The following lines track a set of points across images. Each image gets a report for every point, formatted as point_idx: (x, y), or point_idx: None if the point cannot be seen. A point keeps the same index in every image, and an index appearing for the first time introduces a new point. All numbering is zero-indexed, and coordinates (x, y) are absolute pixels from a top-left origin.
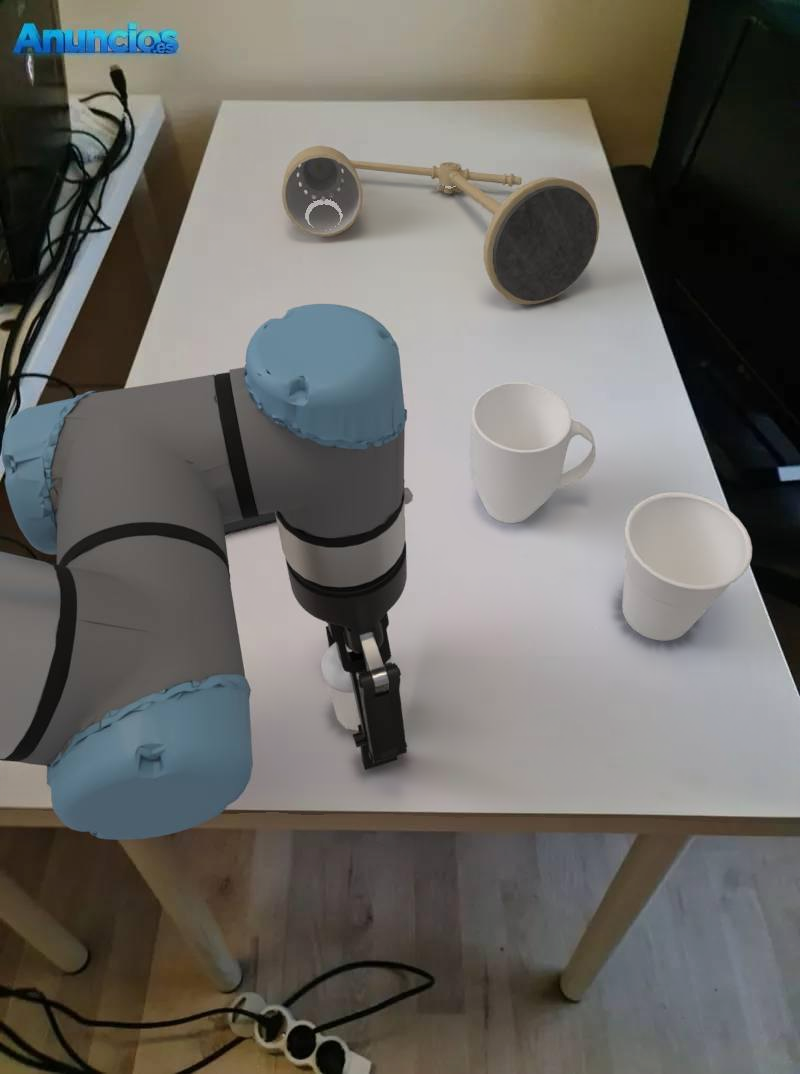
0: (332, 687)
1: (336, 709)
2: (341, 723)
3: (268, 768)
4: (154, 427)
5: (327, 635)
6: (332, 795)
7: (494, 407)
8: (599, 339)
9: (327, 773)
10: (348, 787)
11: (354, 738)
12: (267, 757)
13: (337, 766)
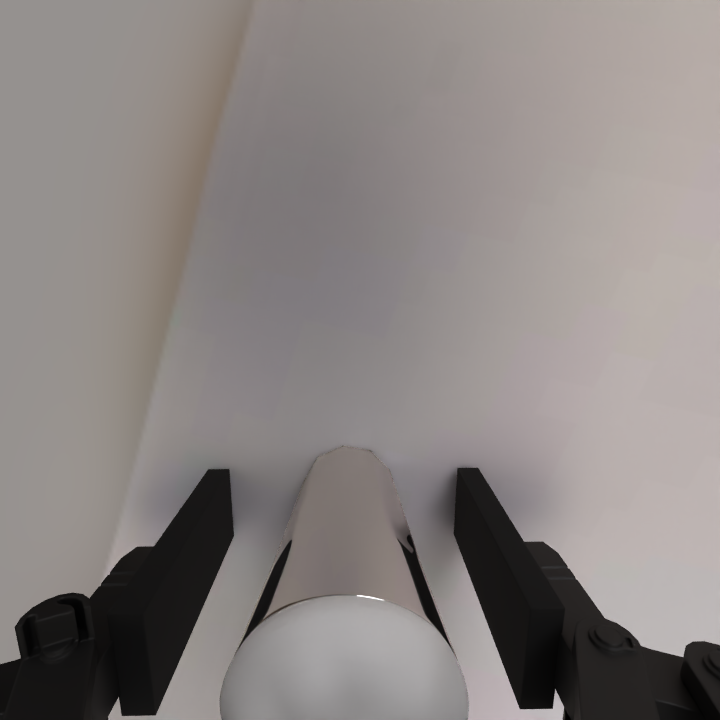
0: (274, 612)
1: (330, 480)
2: (331, 451)
3: (276, 264)
4: None
5: (534, 578)
6: (173, 388)
7: None
8: None
9: (227, 390)
10: (183, 424)
11: (58, 616)
12: (304, 268)
13: (237, 415)
